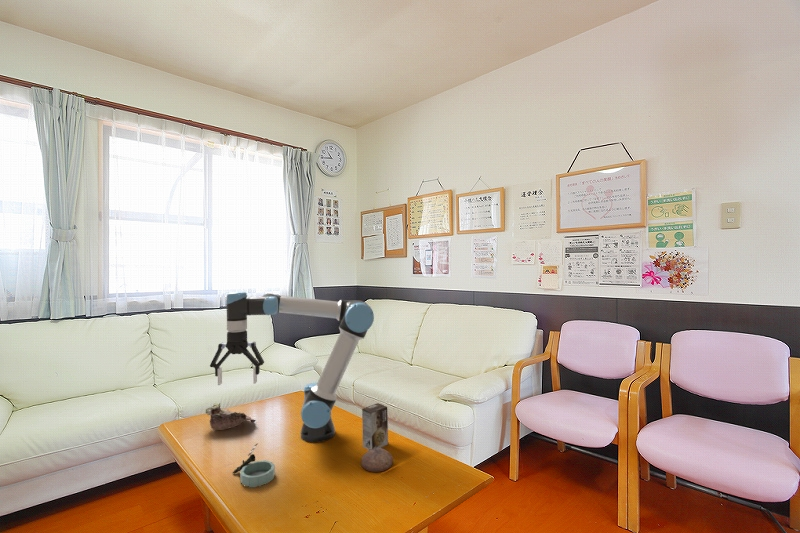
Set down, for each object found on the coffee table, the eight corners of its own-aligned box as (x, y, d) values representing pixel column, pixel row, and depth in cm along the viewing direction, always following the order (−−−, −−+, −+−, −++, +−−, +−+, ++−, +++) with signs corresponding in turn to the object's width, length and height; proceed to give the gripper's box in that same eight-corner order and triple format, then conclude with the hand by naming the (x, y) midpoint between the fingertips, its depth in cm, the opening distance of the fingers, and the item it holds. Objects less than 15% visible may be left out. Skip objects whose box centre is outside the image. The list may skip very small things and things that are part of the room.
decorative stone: (374, 476, 136) (374, 460, 136) (354, 465, 145) (354, 450, 145) (399, 464, 144) (398, 449, 144) (378, 454, 153) (378, 440, 153)
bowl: (277, 469, 143) (277, 459, 143) (270, 486, 131) (270, 475, 131) (245, 471, 141) (245, 461, 141) (236, 489, 130) (236, 478, 130)
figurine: (250, 453, 136) (224, 471, 137) (257, 462, 136) (231, 479, 137) (257, 443, 142) (232, 459, 143) (264, 451, 142) (238, 468, 143)
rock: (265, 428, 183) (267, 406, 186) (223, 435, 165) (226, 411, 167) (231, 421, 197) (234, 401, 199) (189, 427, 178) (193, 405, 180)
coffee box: (378, 439, 166) (378, 402, 166) (388, 444, 161) (388, 406, 161) (362, 446, 160) (361, 408, 159) (372, 452, 155) (371, 412, 155)
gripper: (271, 328, 159) (271, 379, 159) (207, 329, 156) (208, 382, 156) (267, 331, 151) (267, 384, 151) (200, 333, 148) (201, 387, 148)
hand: (237, 383), depth 154 cm, fingers open, 13 cm apart
